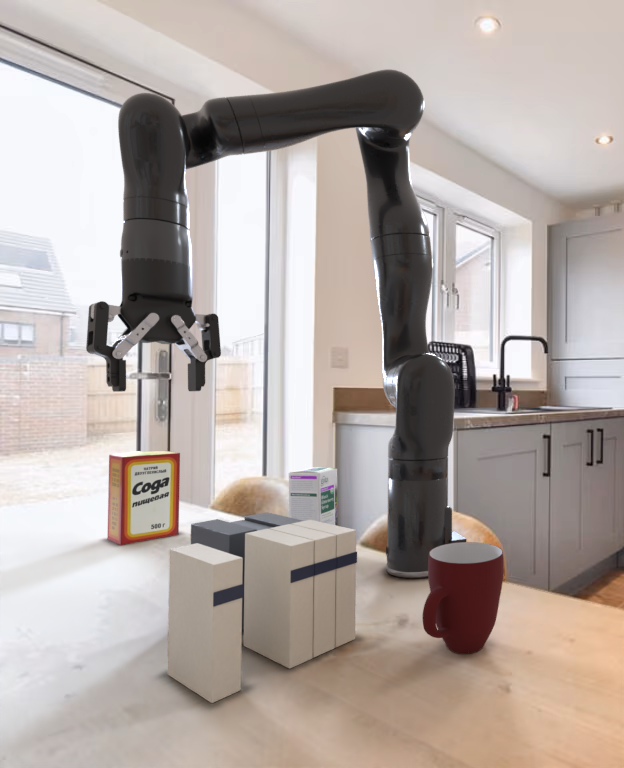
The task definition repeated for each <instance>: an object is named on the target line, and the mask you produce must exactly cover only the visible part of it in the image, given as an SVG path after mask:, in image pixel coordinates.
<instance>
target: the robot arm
mask: <svg viewBox="0 0 624 768" xmlns="http://www.w3.org/2000/svg"><path fill="white" fill-rule="evenodd" d="M424 110H425V99H424V95H423V92H422V90H421V88H420V86H419V84H418V83H417V82H416V81H415V80H414V79H413V78H412V77H411V76H409V75H408V74H406V73H404V72H402V71H400V70H397V69H391V68H390V69H380V70H376V71H375V70H374V71H371V72H368V73H364V74H360V75H357V76H353V77H350V78H347V79H342V80H338V81H334V82H329V83H325V84H319V85H316V86H311V87H310V86H309V87H305V88H300V89H293V90H286V91H279V92H270V93H259V94H247V95H234V96H226V97H225V96H222V97H215V98H211V99H208V100H206V101H205V102H203V105H202V106H201V108H200V109H199V110H198V111H194V112H191V113H187V114H182V113H181V112H180V110H179V109H178V108H177V107H176V106H175V105H174V104H173V103H172V102H171V101H169V100H168V99H167V98H164V97H163V96H161V95H159V94H155V93H150V92H139V93H136V94H134V95H131V96H129V97H128V98H127V99H126V100H125V101H124V102H123V103H122V105H121V106H120V109H119V112H118V118H117V124H118V125H117V128H118V129H117V130H118V131H117V132H118V143H119V151H120V159H121V165H122V166H121V167H122V173H123V195H122V196H123V199H122V211H123V213H122V214H123V215H122V216H123V217H122V218H123V219H122V220H123V221H122V222H123V224H122V233H121V238H120V250H119V257H120V267H121V268H120V275H121V276H120V278H121V279H120V280H121V281H120V282H121V283H120V285H121V287H120V288H121V302H120V304H119V305H113V304H109V303H107V302H106V301H98V302H97V301H96V302H94V303H92V304H90V305H89V306H88V315H87V316H88V317H87V330H86V345H85V346H86V347H85V349H86V352H87V353H88V354H91V355H95V356H99V357H101V358H103V359H104V361H105V364H106V365H105V367H106V369H105V371H106V373H105V374H106V375H105V376H106V379H105V381H106V384H107V387H108V388H109V387H111V390H112V392H113V393H115V392H117V393H119V392H126V390H127V360H126V359H124V357H126V355H127V354H128V353H129V351H130V350H131V349H132V348H133V347H134V346H136V345H137V344H138V343H139V342H141V344H150V343H151V344H152V343H158V344H160V345H172V344H174V346H175V347H176V348H177V349H178V350H180V351H181V352H182V353H183V355H185V357H186V358H187V359H188V360H189V363H187V391H188V392H200V391H202V388H203V387H205V385H206V363H207V362H208V361H210V360H213V359H219V358H220V357H221V355H222V350H221V336H220V322H219V316H218V315H217V314H216V313H207V314H198V313H195V311H194V310H193V298H194V296H193V295H194V294H193V292H194V291H193V247H192V241H191V233H190V200H189V195H188V194H189V193H188V190H187V185H186V170H189V169H194V168H197V167H200V166H203V165H207V164H210V163H213V162H216V161H218V160H220V159H223V158H227V157H231V156H243V155H249V154H256V153H257V154H258V153H265V152H266V153H267V152H272V151H277V150H281V149H285V148H289V147H292V146H295V145H299V144H301V143H304V142H307V141H309V140H312V139H314V138H318V137H320V136H324V135H326V134H329V133H332V132H333V133H334V132H338V131H342V130H348V129H355V132H356V137H357V142H358V146H359V149H360V151H359V152H360V156H361V160H362V164H363V169H364V175H365V183H366V201H367V202H366V204H367V216H368V217H367V218H368V229H369V230H368V231H369V243H370V252H371V261H372V262H371V263H372V268H373V274H374V281H375V289H376V299H377V304H378V311H379V317H380V324H381V335H382V337H381V338H382V339H381V340H382V387H383V392H384V395H385V397H386V399H387V401H388V403H390V405H391V406H393V407H394V408H395V426H394V431H393V434H392V436H391V438H390V439H389V440H388V443H387V457H388V458H387V519H386V520H387V525H386V527H387V528H386V529H387V530H386V531H387V532H386V538H387V539H386V547H385V556H386V564H385V565H386V567H385V568H386V572H387V574H389V575H391V576H394V577H398V578H405V579H418V578H428V560H429V552H430V551H431V550H432V549H434V548H436V547H438V546H441V545H445V544H451V543H460V542H467V538H465V537H464V536H463V535H462V534H460V533H459V532H457V531H456V530H453V508H452V507H451V506H450V505H449V448H450V444H451V441H452V439H453V435H454V422H455V421H454V419H455V389H456V388H455V379H454V375H453V371H452V370H451V367H450V366H449V365H448V363H447V362H446V361H445V360H444V359H443V358H442V357H440V356H438V355H435V354H433V353H430V350H429V343H428V338H427V311H428V306H429V300H430V295H431V289H432V284H433V283H432V282H433V273H434V263H433V255H432V244H431V235H430V229H429V225H428V221H427V218H426V215H425V212H424V210H423V208H422V205H421V203H420V201H419V199H418V196H417V194H416V191H415V189H414V186H413V181H412V176H411V165H410V163H411V162H410V140H411V136H412V134H413V133H414V132H415V131H416V129H417V128H418V126H419V124H420V122H421V120H422V118H423V115H424ZM116 316H117V317H118V319H119V320H120V322H122V324H123V325H124V326H125V327H126V328H125V329H124V330H123V331H122V332H121V334H119V335H118V336H117V338H116V339H115V341H114V343H112V345H107V343H108V331H109V323H111V322H114V320H115V317H116ZM194 324H196V327H197V329H198V330H199V331H200V332H201V346H202V347H201V346H200V344H199V341H198V340H197V338H196V337H195V335H194V334H193V333H192V331H191V330H190V329H191V328H192V327H193V326H194Z"/></svg>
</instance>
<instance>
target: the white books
mask: <svg viewBox="0 0 624 768" xmlns="http://www.w3.org/2000/svg"><path fill="white" fill-rule="evenodd" d="M357 563H358V551H357V529H355V528H349V527H344V526H340V525H338V526H336V525H332V524H327V523H323V522H318V521H314V520H306V521H301V522H297V523H292V524H287V525H282V526H278V527H273V528H269V529H263V530H259V531H254V532H249V533H245V576H244V632H243V646H244V647H246V648H247V649H249V650H251V651H253V652H255V653H258V654H259V655H261V656H262V657H264V658H265V657H266V658H267V659H268V660H271V661H273V662H275V663H277V664H279V665H281V666H283V667H285V668H287V669H289V670H290V669H292V668H295V667H298V666H299V665H301V664H304V663H306V662H308V661H310V660H312V659H315V658H316V657H318V656H322V655H323V654H325V653H328V652H329V651H333V650H334V649H335V648H338V647H341V646H344V645H345V644H347V643H349V642H351V641H354V640H355V639H356V606H357V605H356V604H357V603H356V602H357V600H356V599H357V598H356V597H357V596H356V595H357V594H356V593H357V589H356V588H357Z"/></svg>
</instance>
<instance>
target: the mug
mask: <svg viewBox="0 0 624 768" xmlns="http://www.w3.org/2000/svg"><path fill="white" fill-rule="evenodd" d="M427 578H428V586H429V594H428V596H427V597H426V599H425V602H424V605H423V608H422V609H423V610H422V626H423V629H424V631H425V633H426V634H427V635H428V636H430V637H432V638H435V639H442V640H443V642H444V644H445V646H446V648H447V649H448V650H449V651H450V652H452V653H455V654H459V655H469V654H475V653H477V652H480V651H481V650H482V649H483V648H484V647H485V645H486V643H487V642H488V639H489V638H490V636H491V633H492V631H493V629H494V627H495V625H496V621H497V616H498V612H499V605H500V600H501V594H502V588H503V580H504V551H503V549H502V548H501V547H499V546H497V545H495V544H491V543H485V542H476V541H475V542H474V541H466V542H460V543H451V544H445V545H441V546H438V547H436V548H434V549H432V550H431V551H430V552H429V560H428V577H427Z"/></svg>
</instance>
